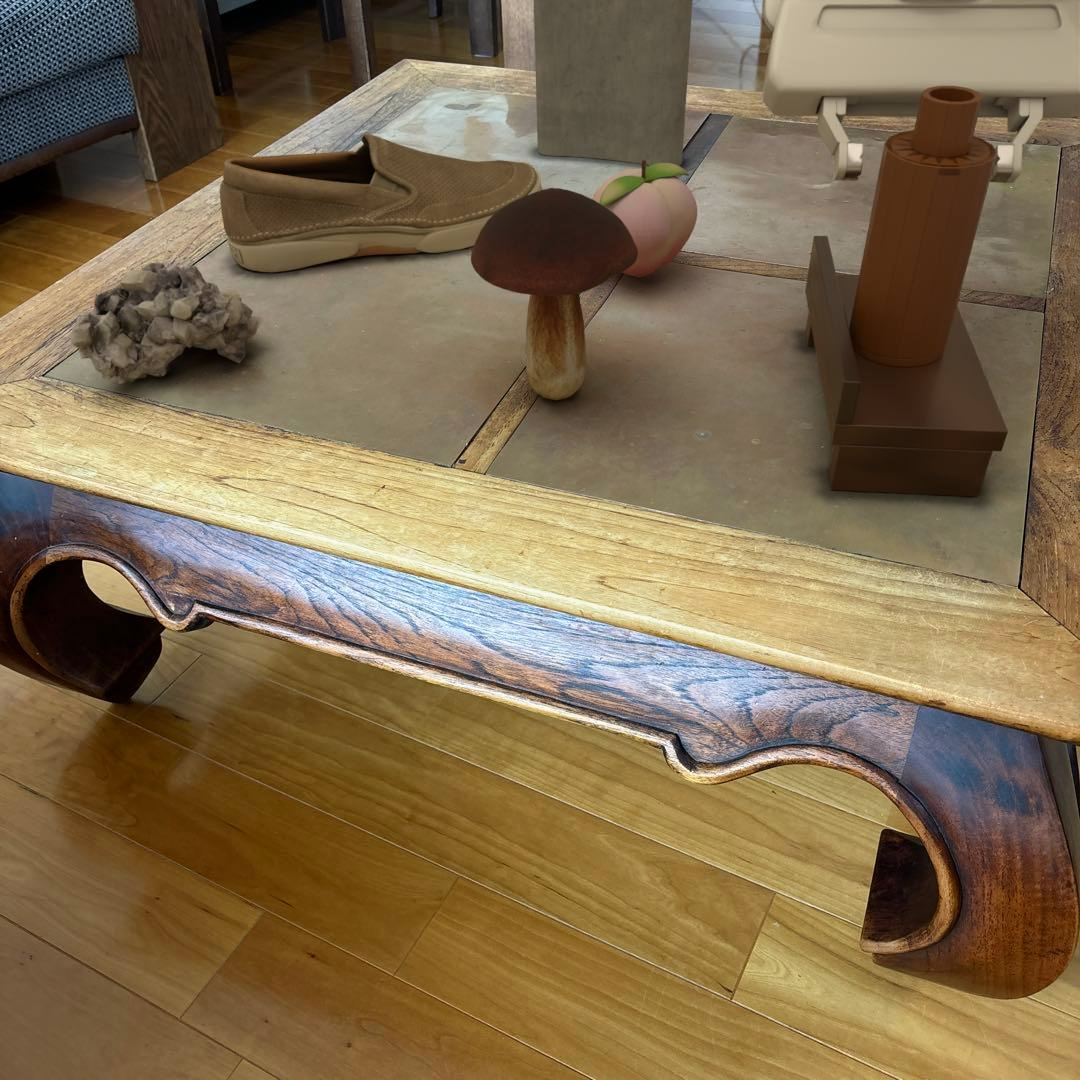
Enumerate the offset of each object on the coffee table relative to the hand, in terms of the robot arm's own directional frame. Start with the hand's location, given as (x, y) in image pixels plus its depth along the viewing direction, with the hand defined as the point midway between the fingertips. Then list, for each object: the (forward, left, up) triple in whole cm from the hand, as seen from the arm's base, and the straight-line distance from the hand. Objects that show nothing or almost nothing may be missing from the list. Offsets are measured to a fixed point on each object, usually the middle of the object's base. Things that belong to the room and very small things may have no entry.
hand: (925, 178), depth 63 cm
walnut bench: (0, +2, -15) cm, 15 cm away
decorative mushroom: (+23, +2, -15) cm, 28 cm away
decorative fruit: (+18, -17, -15) cm, 29 cm away
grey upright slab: (+22, -45, -15) cm, 52 cm away
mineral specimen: (+52, 0, -15) cm, 54 cm away
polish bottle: (0, +2, -10) cm, 11 cm away
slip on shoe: (+41, -24, -15) cm, 50 cm away
